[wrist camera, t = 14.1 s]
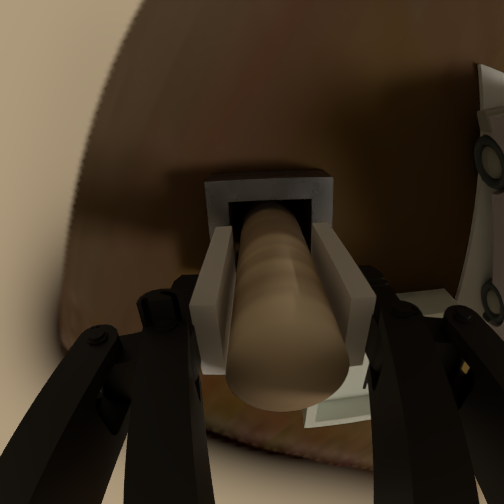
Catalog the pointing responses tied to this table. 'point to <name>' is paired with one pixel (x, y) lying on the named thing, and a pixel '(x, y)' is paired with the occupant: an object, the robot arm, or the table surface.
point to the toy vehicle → (500, 178)
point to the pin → (281, 318)
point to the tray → (351, 392)
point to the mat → (481, 210)
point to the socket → (269, 196)
